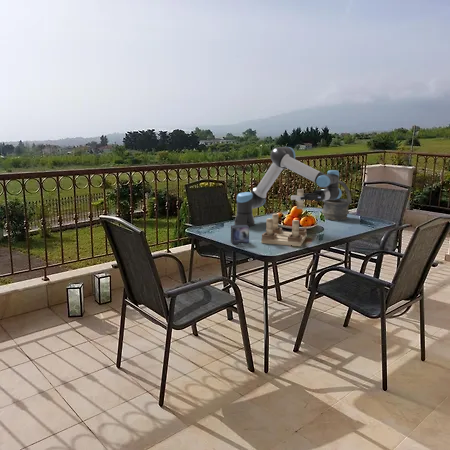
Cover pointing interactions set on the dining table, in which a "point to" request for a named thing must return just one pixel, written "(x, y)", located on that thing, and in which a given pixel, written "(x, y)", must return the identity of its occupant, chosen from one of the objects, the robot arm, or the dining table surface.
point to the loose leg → (300, 203)
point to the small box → (239, 234)
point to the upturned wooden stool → (283, 233)
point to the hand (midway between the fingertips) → (293, 198)
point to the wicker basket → (337, 206)
